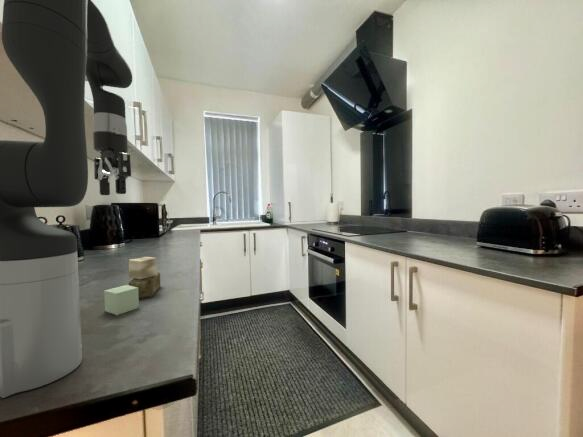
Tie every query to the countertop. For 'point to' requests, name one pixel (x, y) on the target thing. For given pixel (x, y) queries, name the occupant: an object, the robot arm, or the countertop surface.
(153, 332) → the countertop surface
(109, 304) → the sage cube
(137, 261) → the birch cube
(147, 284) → the stone block
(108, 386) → the countertop surface
